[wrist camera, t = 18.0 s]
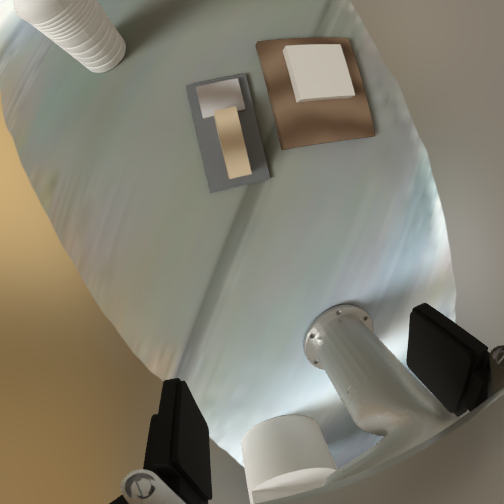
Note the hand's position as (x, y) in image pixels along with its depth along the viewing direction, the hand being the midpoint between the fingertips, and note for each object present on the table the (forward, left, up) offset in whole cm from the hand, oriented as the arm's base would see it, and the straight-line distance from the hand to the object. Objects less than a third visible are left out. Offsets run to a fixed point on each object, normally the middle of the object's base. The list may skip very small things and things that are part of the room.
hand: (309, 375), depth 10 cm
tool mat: (+13, -1, -30) cm, 33 cm away
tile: (+15, -15, -28) cm, 35 cm away
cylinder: (-46, +2, -31) cm, 55 cm away
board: (+17, -15, -30) cm, 38 cm away
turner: (+13, -1, -30) cm, 33 cm away
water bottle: (+30, +14, -31) cm, 45 cm away
